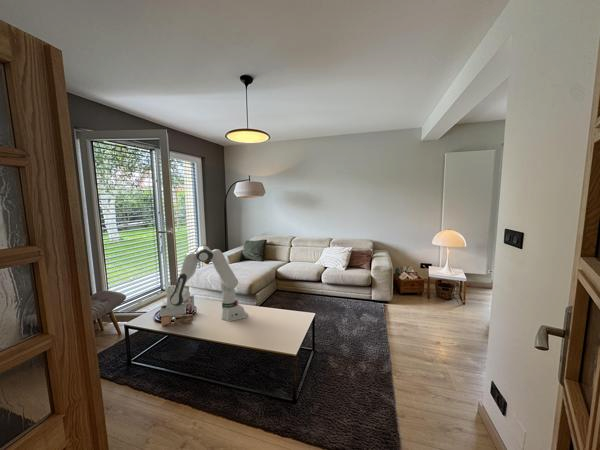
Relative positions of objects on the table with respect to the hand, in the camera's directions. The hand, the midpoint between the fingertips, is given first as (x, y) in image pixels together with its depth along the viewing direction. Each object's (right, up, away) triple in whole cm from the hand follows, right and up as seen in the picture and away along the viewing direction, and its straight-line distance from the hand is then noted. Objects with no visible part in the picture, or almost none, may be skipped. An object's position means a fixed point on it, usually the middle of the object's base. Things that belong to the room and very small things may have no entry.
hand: (173, 320), depth 211 cm
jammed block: (-5, -3, -1) cm, 6 cm away
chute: (+4, -2, +1) cm, 5 cm away
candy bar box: (+3, -1, +20) cm, 21 cm away
